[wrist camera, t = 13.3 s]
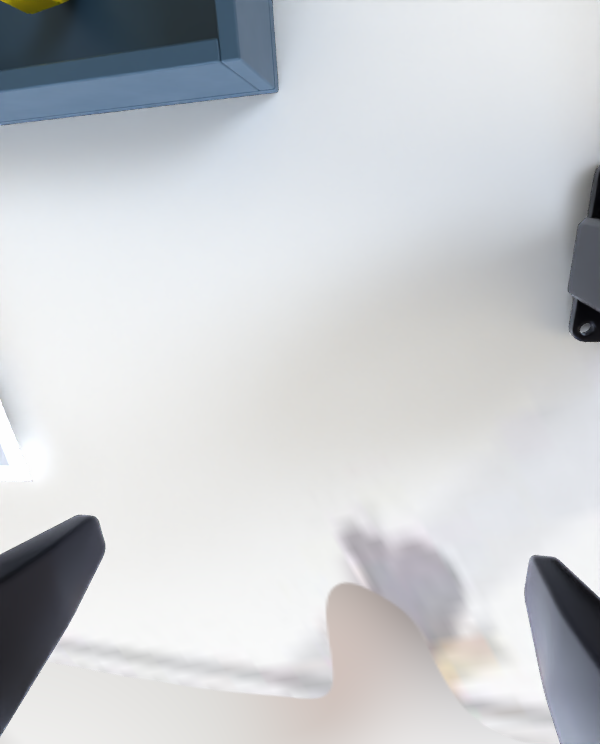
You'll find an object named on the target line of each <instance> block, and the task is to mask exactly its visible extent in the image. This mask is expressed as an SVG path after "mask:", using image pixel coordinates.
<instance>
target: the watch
mask: <svg viewBox="0 0 600 744" xmlns="http://www.w3.org/2000/svg"><path fill="white" fill-rule="evenodd" d="M0 1H2V2H4V3H6V4H9V5H11V6H13V7H15V8H17V9H19V10H21V11H23V12H25V13H27V14H29V13H31V14H34V13H37V12H40V11H42V10H45V9H48V8H51V7H54V6H56V5H59V4H62V3H64V2H66V1H68V0H0Z"/></svg>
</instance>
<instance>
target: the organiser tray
mask: <svg viewBox="0 0 600 744" xmlns="http://www.w3.org/2000/svg"><path fill="white" fill-rule="evenodd" d="M278 90H279V89H278V75H277V61H276V46H275V32H274V18H273V4H272V0H68V1H66V2H64V3H62V4H59V5H56V6H54V7H51V8H48V9H45V10H42V11H40V12H37V13H34V14H31V13H29V14H27V13H25V12H23V11H21V10H19V9H17V8H15V7H13V6H11V5H9V4H6V3H4V2H2V1H0V125H7V124H16V123H24V122H32V121H41V120H49V119H57V118H66V117H74V116H83V115H91V114H99V113H108V112H116V111H125V110H133V109H141V108H150V107H158V106H166V105H175V104H183V103H192V102H200V101H208V100H217V99H225V98H233V97H242V96H250V95H259V94H267V93H275V92H278Z"/></svg>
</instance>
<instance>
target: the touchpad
mask: <svg viewBox="0 0 600 744" xmlns="http://www.w3.org/2000/svg"><path fill="white" fill-rule="evenodd" d="M0 481H32V479H31V476H30V474H29V471H28V468H27V466H26V463H25V461H24V458H23V456H22V453H21V451H20V448H19V446H18V443H17V441H16V438H15V436H14V433H13V431H12V428H11V425H10V423H9V420H8V418H7V415H6V413H5V410H4V408H3V405H2V403H1V400H0Z"/></svg>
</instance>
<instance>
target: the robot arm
mask: <svg viewBox="0 0 600 744" xmlns="http://www.w3.org/2000/svg"><path fill="white" fill-rule="evenodd" d="M568 292H569V293H570V294H571V295H572V296H573V297H574V299H573V305H572V311H571V317H570V323H569V332H570V333H571V335H572V336H573V337H574V338H576V339H577V340H579V341H583V342H600V165H599V167H598V168H597V169H596V172H595V174H594V179H593V185H592V191H591V197H590V203H589V209H588V215H587V218H585V219H584V220H583V221H582V222H581V223H579V225H578V229H577V235H576V241H575V247H574V254H573V260H572V266H571V272H570V279H569V285H568ZM586 323H590V328H589V330H588V331H586V332H583V333H580V327H581V326H582V325H583V324H586ZM104 552H105V541H104V538H103V534H102V531H101V527H100V524H99V521H98V519H97V518H96V517H94V516H90V515H76V516H74V517H72V518H70V519H68V520H66V521H64V522H63V523H61V524H59V525H57V526H55V527H53V528H51V529H49V530H47V531H45V532H43V533H41V534H39V535H37V536H35V537H33V538H32V539H30V540H28V541H26V542H24V543H22V544H20V545H18V546H16V547H14V548H12V549H10V550H8V551H6V552H4V553H2V554H1V555H0V736H1V735H2V733H3V731H4V730H5V728H6V726H7V725H8V723H9V722H10V720H11V718H12V717H13V715H14V713H15V712H16V710H17V709H18V707H19V705H20V704H21V702H22V700H23V699H24V697H25V696H26V694H27V692H28V691H29V689H30V687H31V686H32V684H33V682H34V681H35V679H36V677H37V676H38V674H39V672H40V671H41V669H42V668H43V666H44V664H45V663H46V661H47V660H48V658H49V656H50V655H51V653H52V651H53V650H54V648H55V646H56V645H57V643H58V642H59V640H60V638H61V637H62V635H63V633H64V632H65V630H66V628H67V627H68V625H69V623H70V621H71V619H72V618H73V616H74V614H75V612H76V610H77V608H78V606H79V604H80V602H81V600H82V598H83V596H84V594H85V592H86V590H87V588H88V586H89V584H90V582H91V580H92V578H93V576H94V574H95V572H96V570H97V568H98V566H99V564H100V562H101V560H102V558H103V555H104ZM525 602H526V607H527V612H528V617H529V622H530V627H531V632H532V636H533V641H534V646H535V651H536V656H537V661H538V666H539V671H540V675H541V680H542V684H543V689H544V693H545V696H546V700H547V703H548V707H549V710H550V713H551V716H552V719H553V723H554V726H555V729H556V732H557V735H558V738H559V742H560V744H600V598H599V597H598V596H597V595H596V594H595V593H594V592H593V591H592V590H591V589H590V588H589V587H588V586H586V585H585V584H584V583H583V582H582V581H581V580H580V579H579V578H578V577H577V576H576V575H575V574H574V573H573V572H571V571H570V570H569V569H568V568H567V567H566V566H565V565H564V564H563V563H562V562H561V561H560V560H558V559H557V558H555V557H550V556H539V555H534V556H532V557H531V558H530V560H529V565H528V571H527V577H526V583H525Z"/></svg>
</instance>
